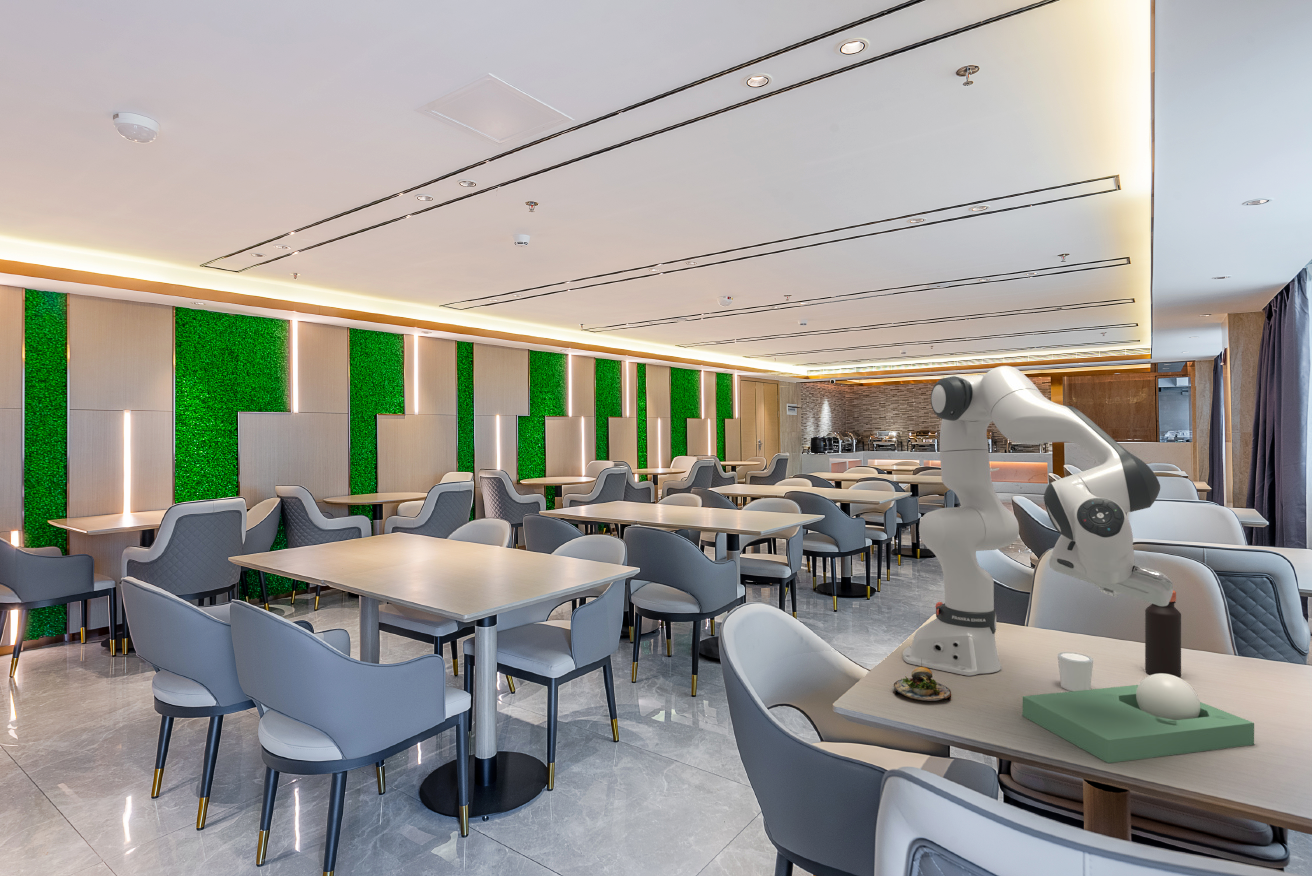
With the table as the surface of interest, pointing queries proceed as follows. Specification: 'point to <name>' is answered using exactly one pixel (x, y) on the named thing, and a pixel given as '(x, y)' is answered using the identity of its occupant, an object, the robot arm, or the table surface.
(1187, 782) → the table surface
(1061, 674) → the white cup
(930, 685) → the burger
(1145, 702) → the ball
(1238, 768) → the table surface
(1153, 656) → the bottle
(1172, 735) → the green cutout tray
